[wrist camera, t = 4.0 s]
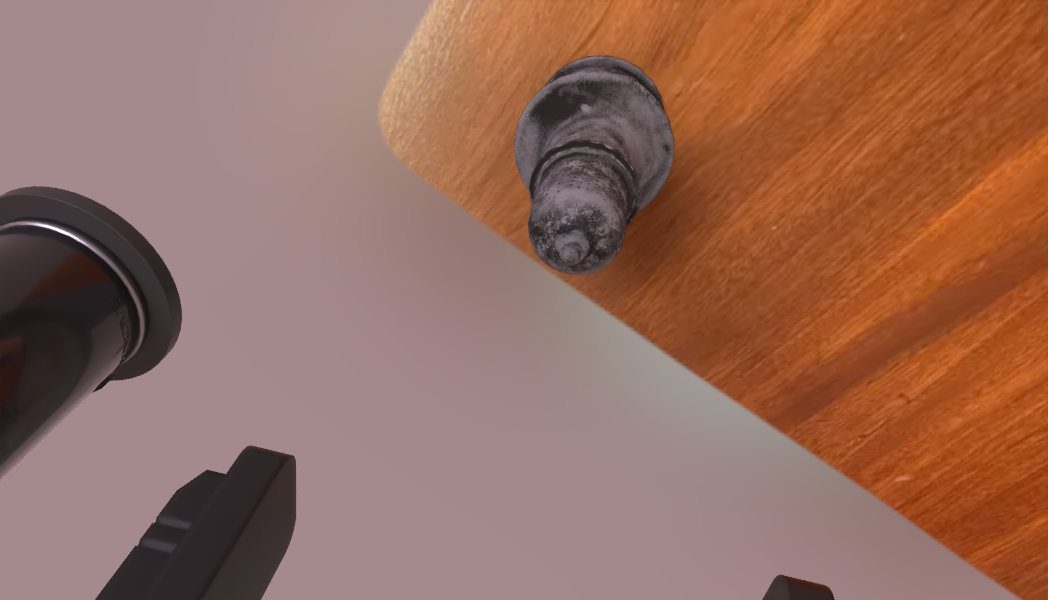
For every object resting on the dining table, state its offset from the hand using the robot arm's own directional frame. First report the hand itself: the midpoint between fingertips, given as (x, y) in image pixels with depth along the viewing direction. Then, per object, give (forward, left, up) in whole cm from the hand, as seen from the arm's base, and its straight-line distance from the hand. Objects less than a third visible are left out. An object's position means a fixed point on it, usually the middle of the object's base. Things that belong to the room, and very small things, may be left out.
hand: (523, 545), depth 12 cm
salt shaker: (0, 0, -22) cm, 22 cm away
